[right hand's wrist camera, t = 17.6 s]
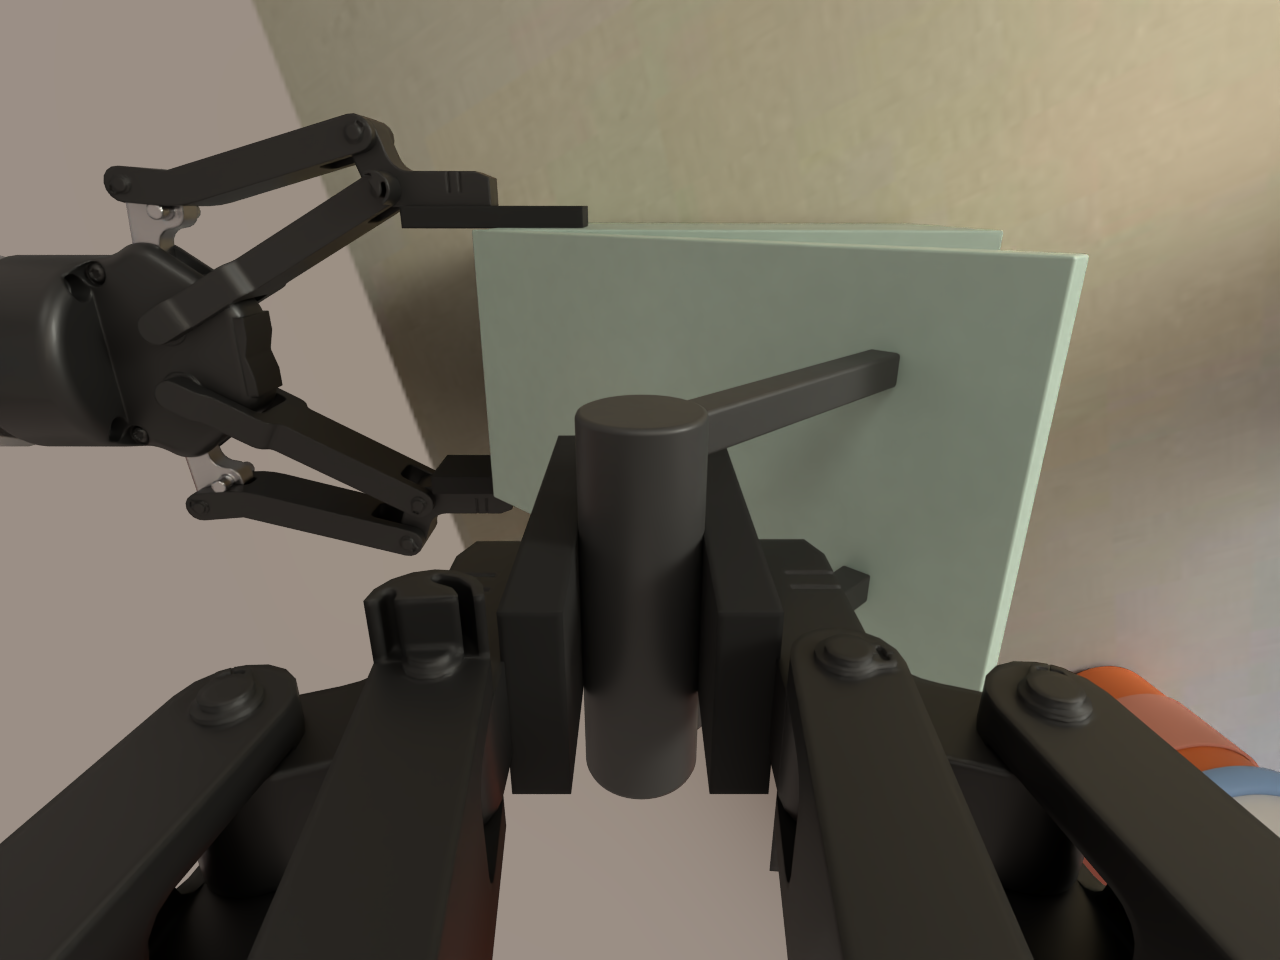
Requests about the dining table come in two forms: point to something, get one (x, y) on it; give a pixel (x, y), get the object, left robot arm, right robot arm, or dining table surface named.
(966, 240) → the chest
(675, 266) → the lid
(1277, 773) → the cup with straw
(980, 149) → the dining table surface
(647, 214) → the dining table surface
